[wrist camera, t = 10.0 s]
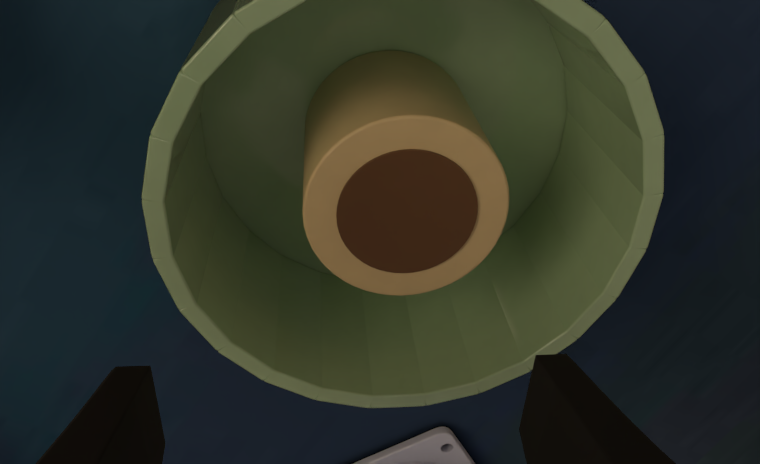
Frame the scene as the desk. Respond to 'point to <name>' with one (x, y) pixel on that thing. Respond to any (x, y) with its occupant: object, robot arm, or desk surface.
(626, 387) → the desk surface
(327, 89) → the tape roll
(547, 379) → the robot arm
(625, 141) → the green bowl
